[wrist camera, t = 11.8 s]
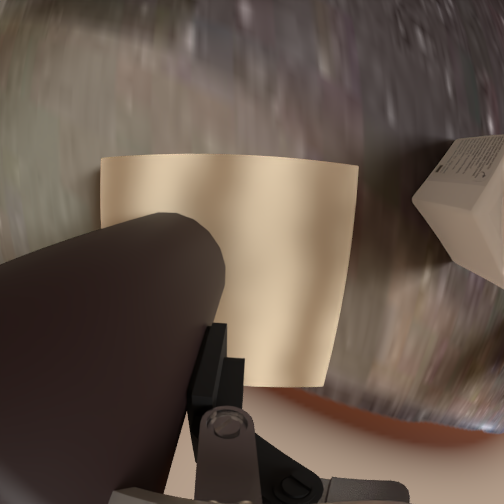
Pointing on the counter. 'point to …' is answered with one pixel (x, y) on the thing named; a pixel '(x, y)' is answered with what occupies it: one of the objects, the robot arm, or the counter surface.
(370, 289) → the counter surface
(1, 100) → the counter surface
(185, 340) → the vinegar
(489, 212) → the container
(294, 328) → the plate
